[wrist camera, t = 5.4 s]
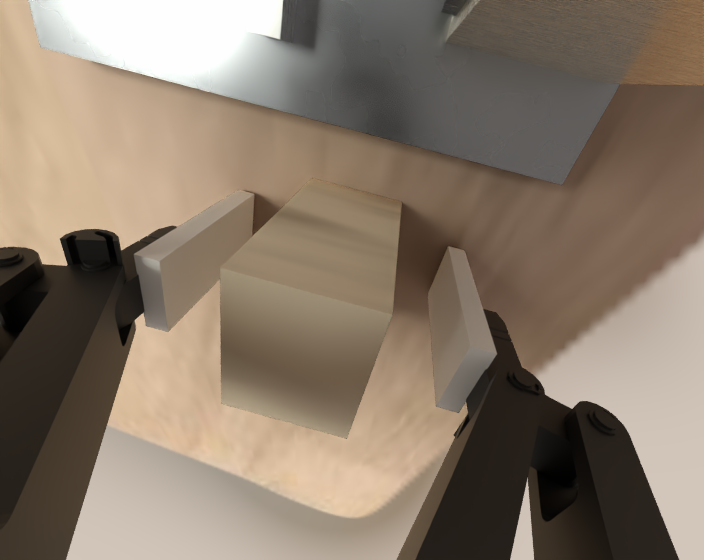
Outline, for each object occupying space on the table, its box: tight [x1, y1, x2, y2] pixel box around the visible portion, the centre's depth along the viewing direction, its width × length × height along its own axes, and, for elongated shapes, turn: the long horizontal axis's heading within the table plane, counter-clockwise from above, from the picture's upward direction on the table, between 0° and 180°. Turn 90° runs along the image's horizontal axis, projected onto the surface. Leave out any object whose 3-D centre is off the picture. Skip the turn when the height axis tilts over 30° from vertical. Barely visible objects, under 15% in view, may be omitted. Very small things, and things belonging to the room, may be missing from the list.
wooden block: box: [220, 178, 402, 439], centre depth 12 cm, size 5×4×8 cm
